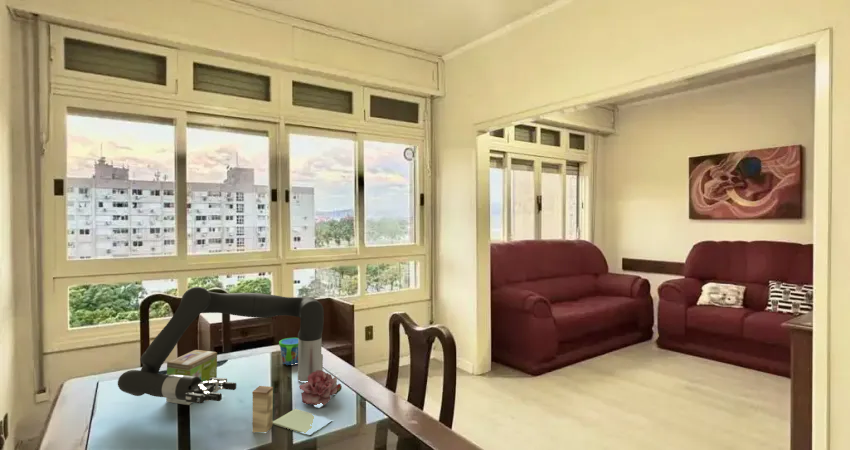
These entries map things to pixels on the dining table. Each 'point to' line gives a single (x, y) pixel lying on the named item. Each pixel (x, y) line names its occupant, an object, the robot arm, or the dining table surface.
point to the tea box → (193, 368)
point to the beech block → (262, 409)
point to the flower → (319, 388)
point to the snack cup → (289, 350)
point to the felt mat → (295, 421)
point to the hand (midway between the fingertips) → (228, 391)
